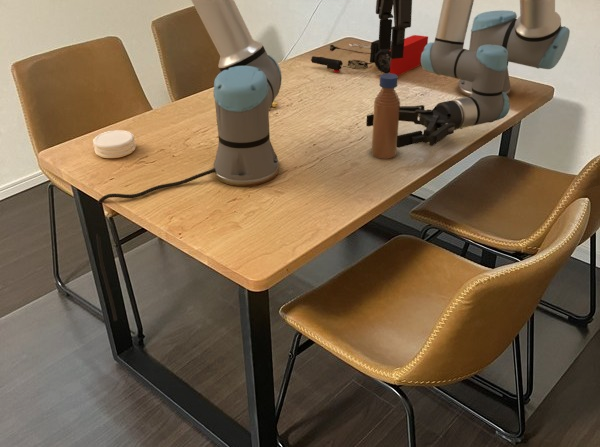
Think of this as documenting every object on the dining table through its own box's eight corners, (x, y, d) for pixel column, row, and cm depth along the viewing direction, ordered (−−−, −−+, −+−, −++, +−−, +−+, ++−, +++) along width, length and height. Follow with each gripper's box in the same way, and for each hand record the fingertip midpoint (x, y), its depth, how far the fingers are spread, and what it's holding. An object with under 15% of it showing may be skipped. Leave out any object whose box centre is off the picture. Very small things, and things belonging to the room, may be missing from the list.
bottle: (367, 150, 155) (371, 75, 144) (389, 146, 156) (394, 72, 146) (377, 160, 150) (382, 83, 139) (400, 156, 151) (406, 80, 141)
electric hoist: (310, 36, 203) (391, 51, 188) (352, 23, 222) (429, 35, 207) (309, 67, 208) (388, 83, 193) (351, 51, 227) (425, 65, 212)
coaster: (106, 163, 150) (103, 149, 148) (88, 149, 156) (85, 137, 155) (143, 150, 156) (141, 137, 154) (124, 138, 162) (122, 126, 160)
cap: (376, 83, 145) (377, 74, 144) (392, 81, 146) (392, 72, 145) (384, 89, 141) (384, 80, 140) (400, 87, 143) (400, 77, 141)
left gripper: (363, -64, 134) (359, 42, 147) (399, -50, 118) (391, 68, 131) (395, -66, 136) (389, 40, 148) (435, -53, 120) (424, 64, 133)
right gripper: (484, 147, 149) (410, 166, 141) (423, 112, 168) (355, 126, 160) (489, 118, 144) (413, 135, 137) (426, 85, 164) (356, 99, 156)
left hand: (390, 53), depth 140 cm, fingers open, 6 cm apart
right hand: (381, 131), depth 148 cm, fingers open, 13 cm apart
